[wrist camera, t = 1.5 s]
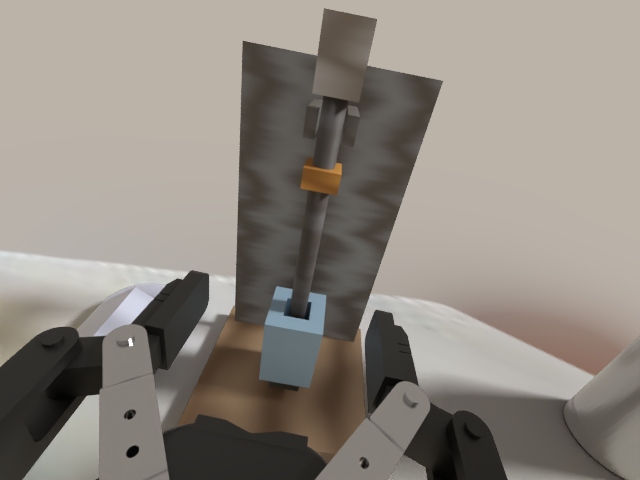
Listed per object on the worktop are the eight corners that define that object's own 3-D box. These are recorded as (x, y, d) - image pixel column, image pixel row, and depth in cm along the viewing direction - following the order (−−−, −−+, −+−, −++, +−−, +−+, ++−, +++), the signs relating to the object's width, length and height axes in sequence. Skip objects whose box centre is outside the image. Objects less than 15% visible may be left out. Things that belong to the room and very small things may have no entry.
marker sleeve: (314, 346, 34) (326, 295, 30) (309, 388, 30) (323, 335, 26) (270, 338, 34) (276, 286, 30) (258, 379, 30) (264, 324, 26)
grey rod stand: (357, 338, 42) (455, 55, 24) (362, 469, 28) (597, 39, 11) (233, 316, 42) (240, 11, 24) (178, 437, 28) (99, -64, 10)
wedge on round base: (143, 393, 31) (192, 306, 42) (133, 352, 28) (189, 269, 39) (54, 383, 30) (128, 297, 42) (33, 339, 27) (119, 259, 38)
